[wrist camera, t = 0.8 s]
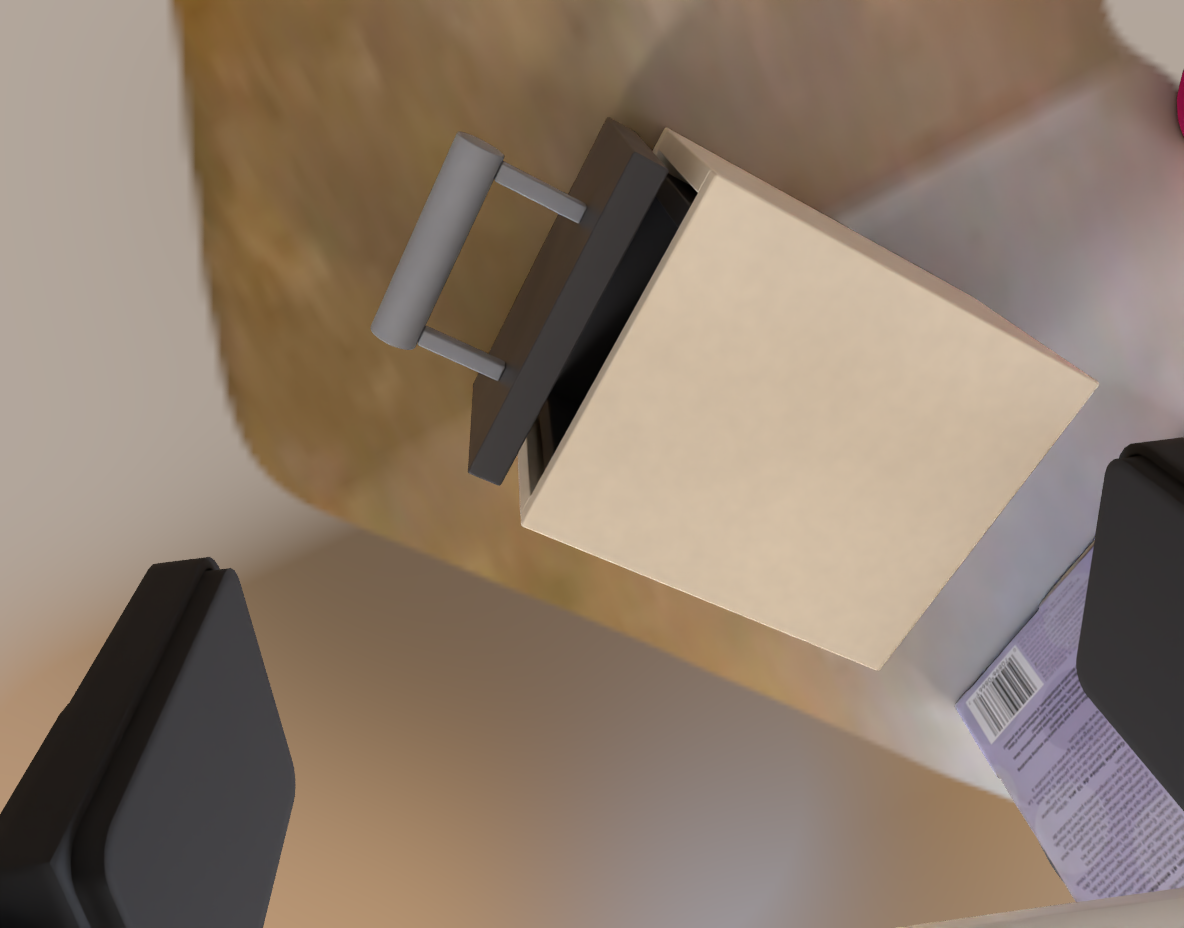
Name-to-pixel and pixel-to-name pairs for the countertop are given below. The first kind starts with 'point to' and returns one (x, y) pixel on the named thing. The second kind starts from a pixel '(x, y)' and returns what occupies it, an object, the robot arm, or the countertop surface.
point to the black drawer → (539, 284)
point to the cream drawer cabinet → (798, 422)
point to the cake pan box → (1073, 759)
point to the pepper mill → (1181, 104)
